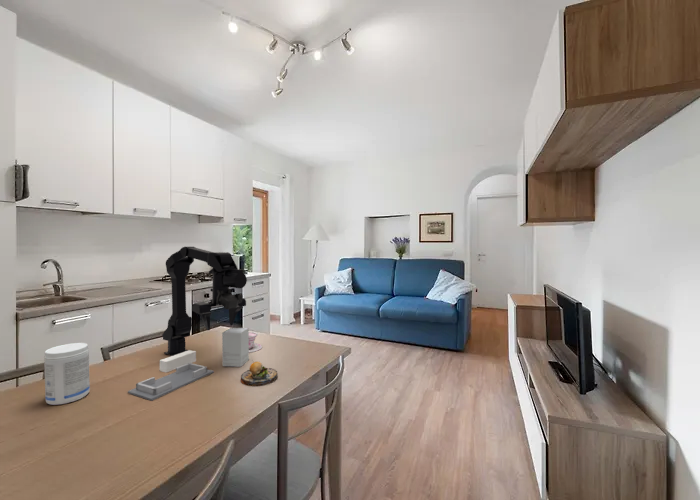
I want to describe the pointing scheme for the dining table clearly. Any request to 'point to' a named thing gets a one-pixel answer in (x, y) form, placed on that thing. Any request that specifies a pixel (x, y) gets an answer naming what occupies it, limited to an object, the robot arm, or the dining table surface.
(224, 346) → the supplement box
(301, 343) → the dining table surface
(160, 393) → the grey bracket base
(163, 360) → the slat
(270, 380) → the burger
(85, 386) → the supplement tub
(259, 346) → the teacup
